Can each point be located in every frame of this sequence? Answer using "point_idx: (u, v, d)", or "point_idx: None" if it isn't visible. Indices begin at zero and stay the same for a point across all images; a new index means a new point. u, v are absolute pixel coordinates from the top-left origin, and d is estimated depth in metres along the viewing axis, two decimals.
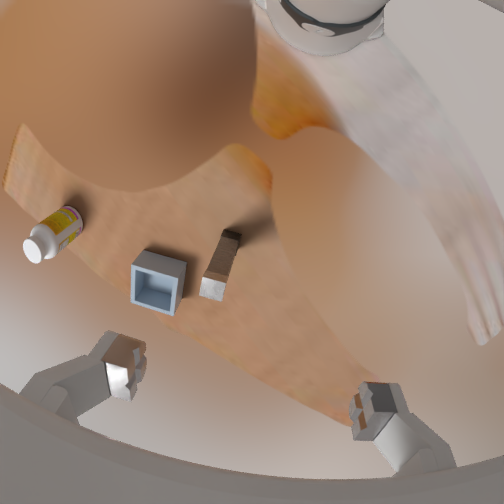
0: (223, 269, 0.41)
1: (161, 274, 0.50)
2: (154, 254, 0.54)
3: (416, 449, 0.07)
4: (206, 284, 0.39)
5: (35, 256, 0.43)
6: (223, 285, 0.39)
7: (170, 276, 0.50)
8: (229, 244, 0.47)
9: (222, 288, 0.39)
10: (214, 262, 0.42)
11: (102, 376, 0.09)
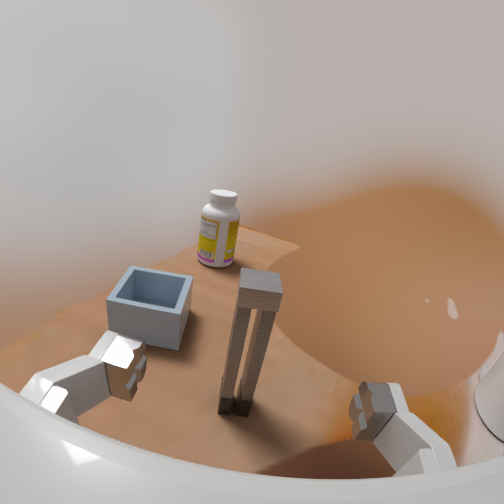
0: None
1: (183, 299, 0.35)
2: (187, 317, 0.40)
3: (416, 449, 0.07)
4: (267, 275, 0.24)
5: (219, 193, 0.51)
6: (276, 290, 0.22)
7: (181, 307, 0.33)
8: None
9: (269, 289, 0.22)
10: None
11: (102, 376, 0.09)
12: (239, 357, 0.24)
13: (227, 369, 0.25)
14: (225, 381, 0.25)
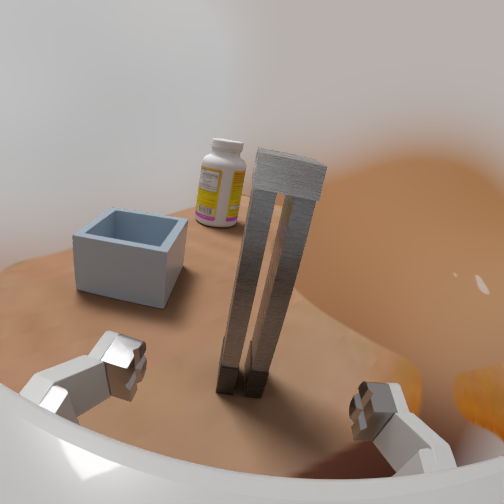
0: None
1: (173, 238, 0.26)
2: (178, 271, 0.31)
3: (416, 449, 0.07)
4: (297, 156, 0.15)
5: None
6: (316, 163, 0.13)
7: (170, 245, 0.25)
8: None
9: (305, 161, 0.13)
10: None
11: (102, 376, 0.09)
12: (253, 290, 0.15)
13: (232, 313, 0.16)
14: (228, 336, 0.17)
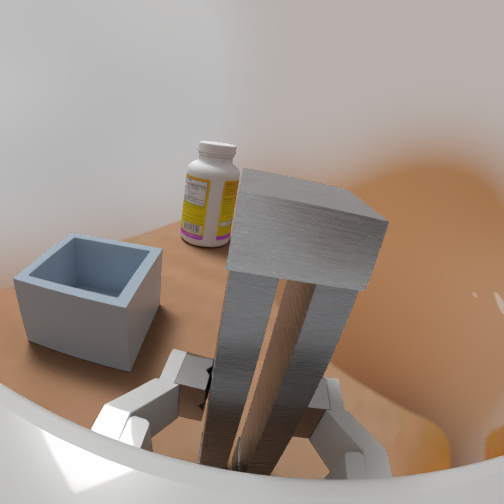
0: None
1: (138, 282, 0.19)
2: (152, 315, 0.24)
3: (348, 451, 0.07)
4: (319, 186, 0.08)
5: (211, 143, 0.36)
6: (366, 213, 0.06)
7: (131, 295, 0.17)
8: None
9: (343, 208, 0.06)
10: None
11: (175, 399, 0.09)
12: (235, 419, 0.08)
13: (206, 441, 0.09)
14: (203, 460, 0.09)
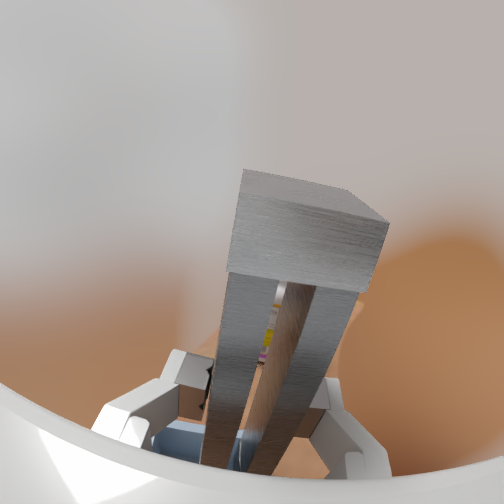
0: None
1: None
2: None
3: (348, 451, 0.07)
4: (320, 187, 0.08)
5: None
6: (367, 215, 0.06)
7: None
8: None
9: (344, 209, 0.06)
10: None
11: (175, 399, 0.09)
12: (236, 421, 0.08)
13: (206, 442, 0.09)
14: (203, 461, 0.09)
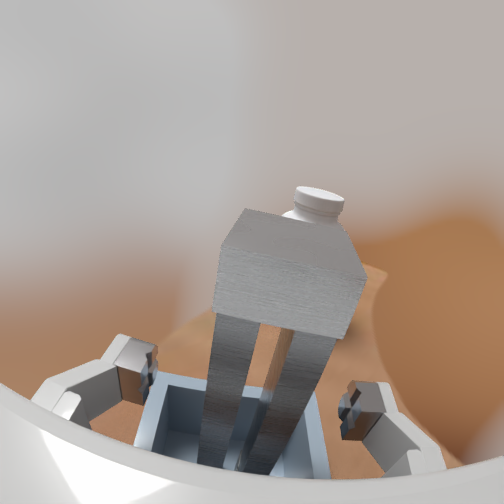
0: None
1: None
2: None
3: (405, 450, 0.07)
4: (315, 230, 0.08)
5: (315, 193, 0.27)
6: (346, 268, 0.06)
7: None
8: None
9: (323, 262, 0.06)
10: None
11: (114, 380, 0.09)
12: (226, 436, 0.09)
13: (200, 452, 0.09)
14: None
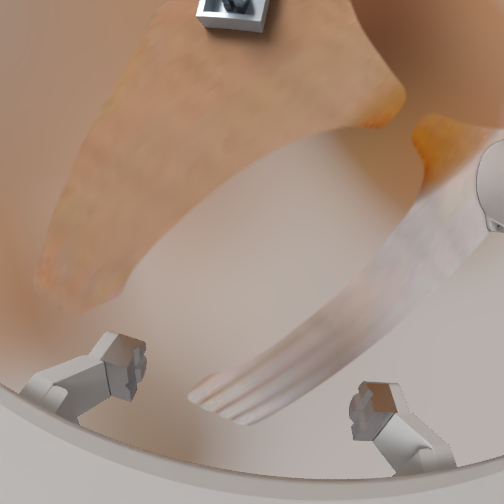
0: None
1: (263, 3, 0.30)
2: None
3: (416, 449, 0.07)
4: None
5: None
6: None
7: (261, 13, 0.31)
8: None
9: None
10: None
11: (102, 376, 0.09)
12: None
13: None
14: None
